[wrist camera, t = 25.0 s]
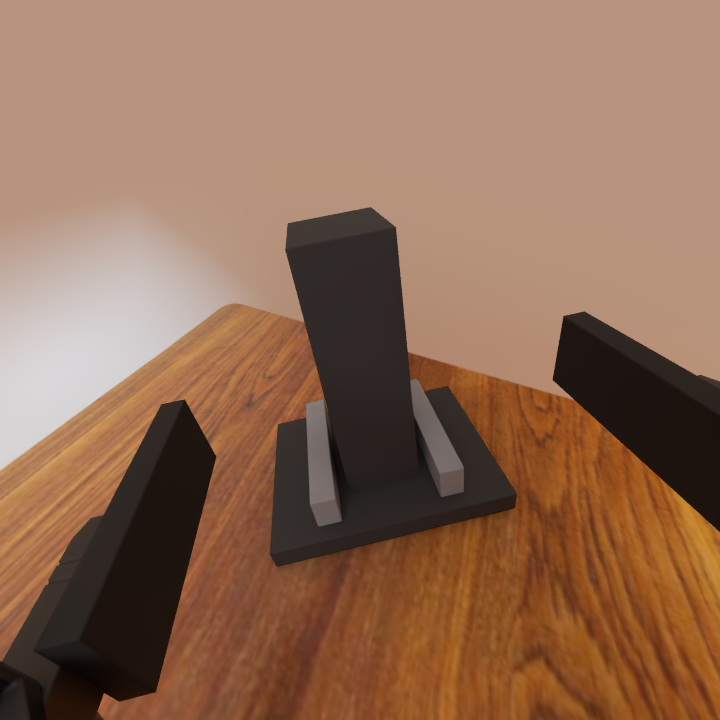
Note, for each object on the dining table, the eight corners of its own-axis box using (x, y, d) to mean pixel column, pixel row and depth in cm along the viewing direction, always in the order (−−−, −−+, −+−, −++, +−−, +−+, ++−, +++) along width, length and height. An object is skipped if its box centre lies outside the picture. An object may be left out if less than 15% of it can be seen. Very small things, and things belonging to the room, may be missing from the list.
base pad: (448, 398, 33) (447, 364, 31) (515, 508, 23) (520, 468, 21) (282, 436, 33) (270, 403, 30) (276, 566, 22) (257, 532, 20)
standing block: (398, 420, 30) (371, 207, 21) (419, 476, 25) (396, 226, 16) (340, 433, 29) (287, 223, 20) (350, 493, 24) (285, 248, 15)
